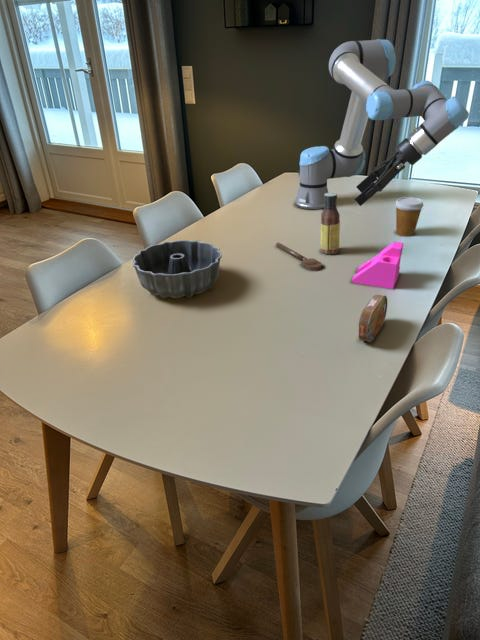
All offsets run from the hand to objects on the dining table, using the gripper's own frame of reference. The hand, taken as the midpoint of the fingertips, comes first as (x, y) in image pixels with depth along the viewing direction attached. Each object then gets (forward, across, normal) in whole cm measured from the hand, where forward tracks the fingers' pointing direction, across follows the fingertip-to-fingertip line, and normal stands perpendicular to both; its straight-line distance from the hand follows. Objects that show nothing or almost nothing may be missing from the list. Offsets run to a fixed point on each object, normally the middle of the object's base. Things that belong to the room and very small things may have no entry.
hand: (358, 196), depth 148 cm
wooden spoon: (+26, +7, +1) cm, 27 cm away
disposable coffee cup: (+1, -21, +26) cm, 34 cm away
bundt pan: (+49, +32, -22) cm, 63 cm away
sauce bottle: (+20, 0, +8) cm, 21 cm away
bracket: (+9, +18, +19) cm, 28 cm away
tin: (+9, +49, +18) cm, 53 cm away
